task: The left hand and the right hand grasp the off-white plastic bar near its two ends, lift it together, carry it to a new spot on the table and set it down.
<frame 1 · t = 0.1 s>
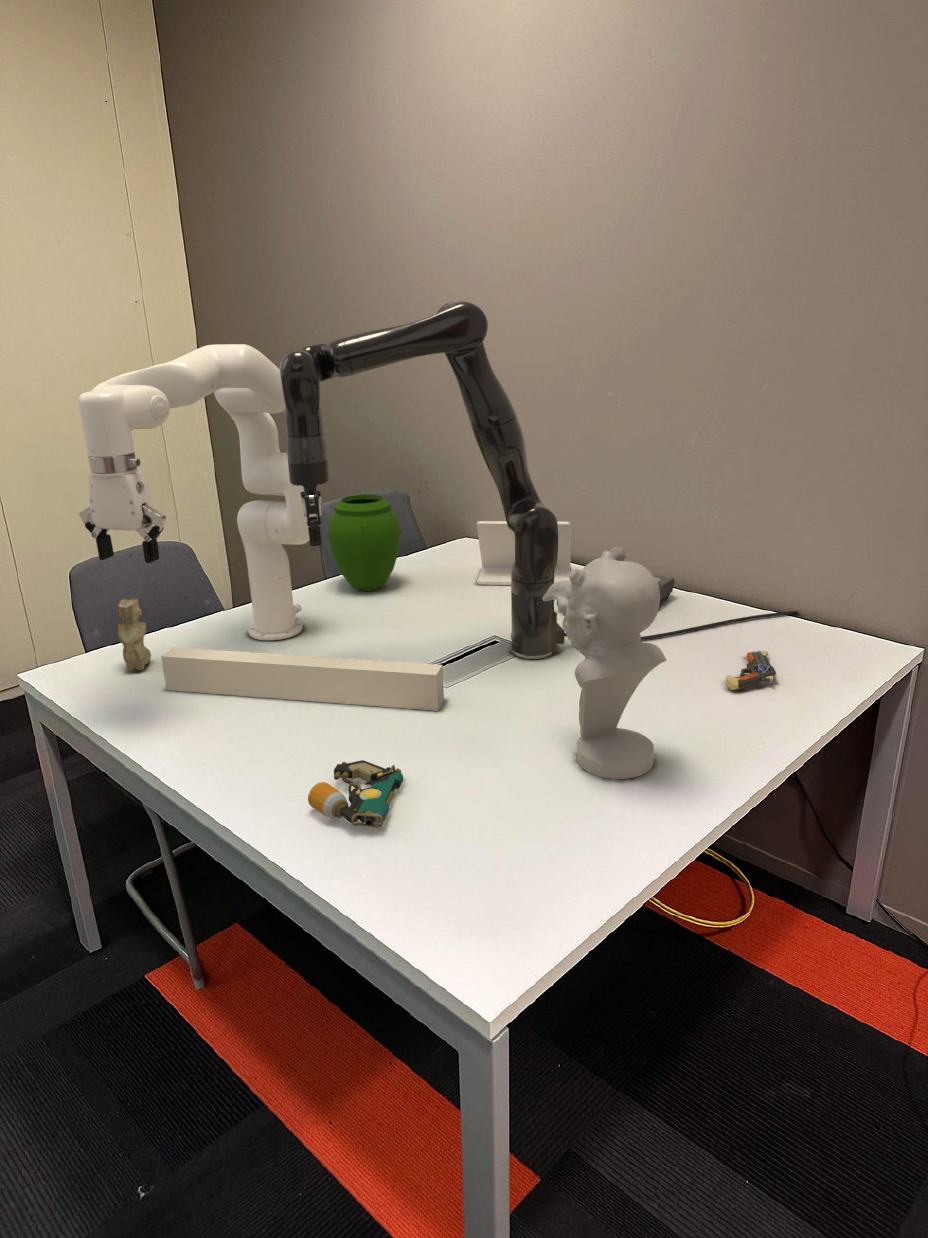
left hand: (129, 559, 153), 31 cm above the table, tool pointing down, fingers open, 9 cm apart
right hand: (315, 539, 170), 29 cm above the table, tool pointing down, fingers open, 8 cm apart
vase: (368, 587, 233), on the table
toy: (615, 605, 214), on the table
spray gun: (362, 801, 134), on the table
tablet stand: (525, 575, 239), on the table
bust sculpture: (594, 754, 145), on the table
sculpture: (138, 667, 186), on the table
bar: (302, 695, 171), on the table
toy gun: (748, 674, 174), on the table
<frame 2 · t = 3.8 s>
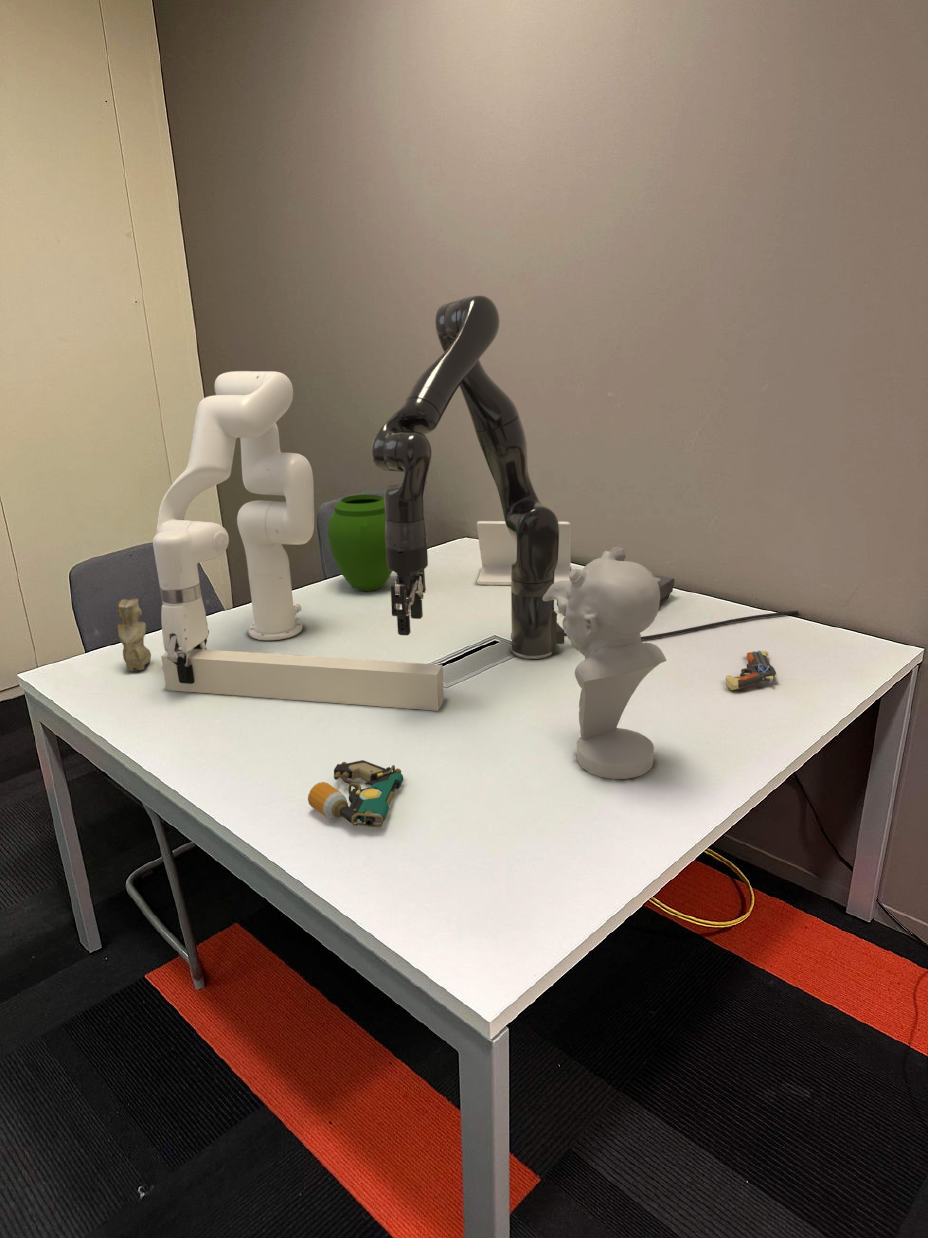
left hand: (193, 676, 175), 2 cm above the table, tool pointing down, fingers closed on bar, 4 cm apart
right hand: (410, 626, 160), 16 cm above the table, tool pointing down, fingers open, 8 cm apart
bar: (302, 695, 171), on the table, touching left hand
everything else where it was.
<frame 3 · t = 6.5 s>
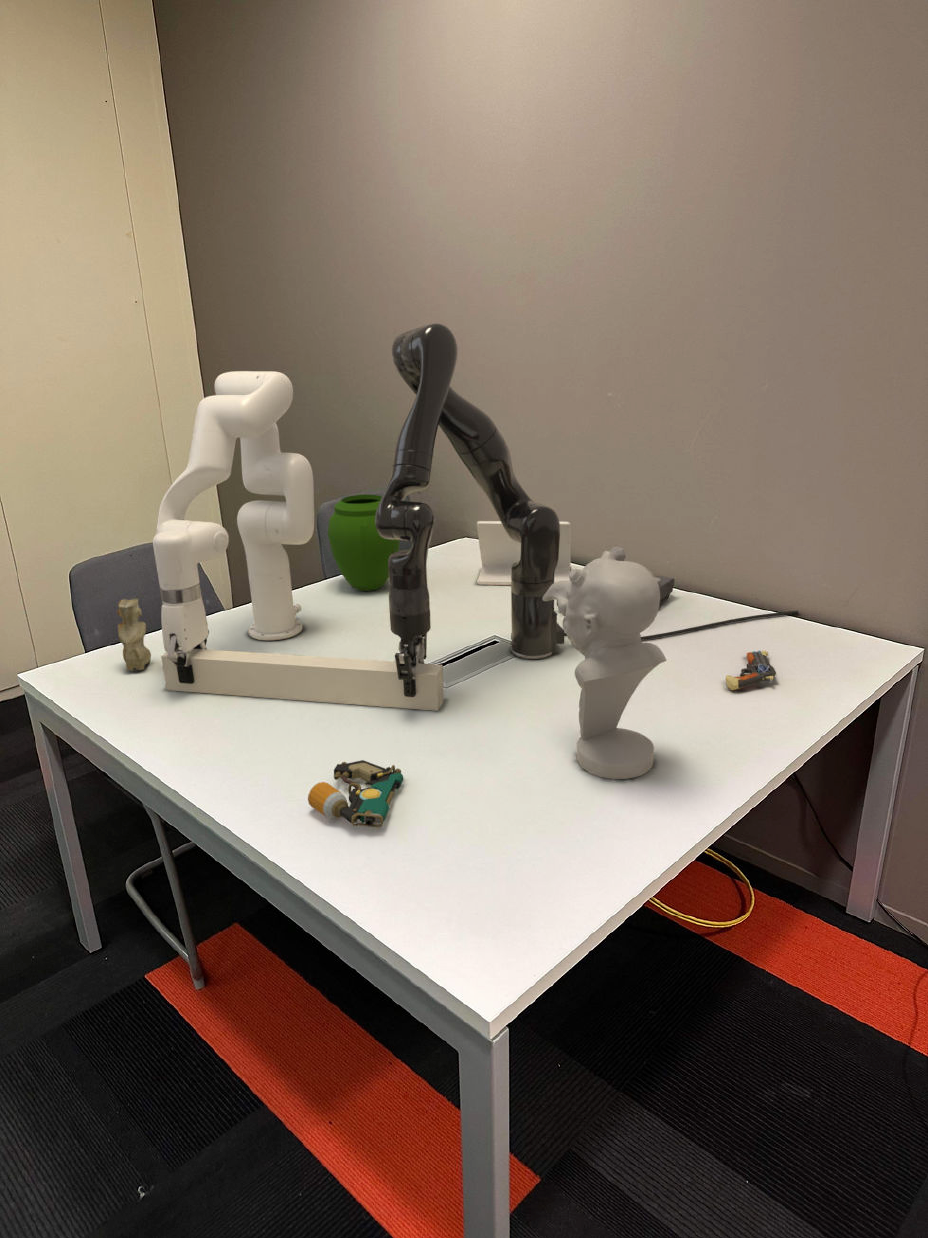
left hand: (193, 676, 175), 2 cm above the table, tool pointing down, fingers closed on bar, 4 cm apart
right hand: (413, 689, 164), 3 cm above the table, tool pointing down, fingers closed on bar, 4 cm apart
bar: (302, 695, 171), on the table, touching right hand, left hand
everything else where it was.
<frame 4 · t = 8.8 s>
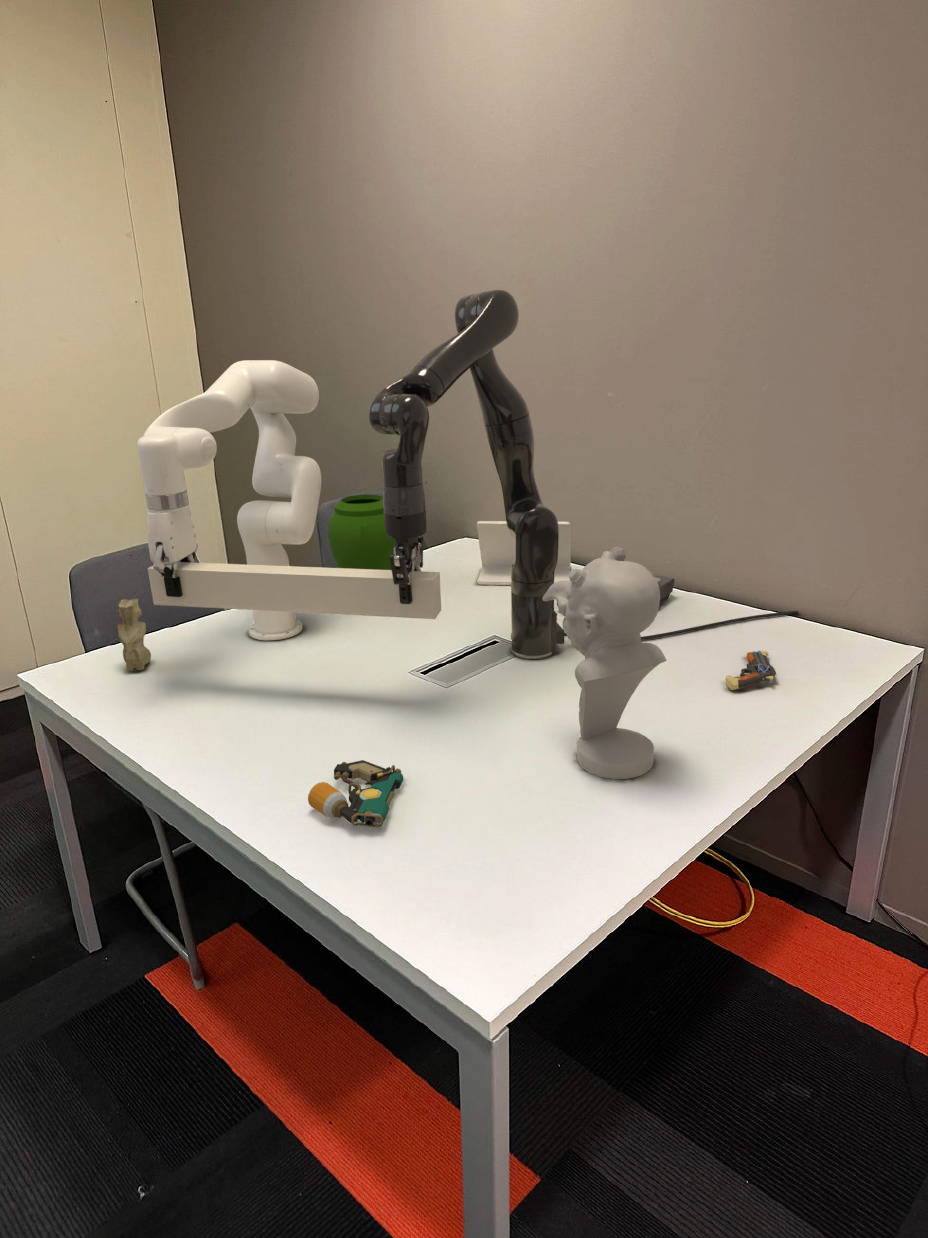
left hand: (181, 590, 168), 21 cm above the table, tool pointing down, fingers closed on bar, 4 cm apart
right hand: (410, 598, 158), 22 cm above the table, tool pointing down, fingers closed on bar, 4 cm apart
bar: (294, 607, 164), point 19 cm above the table, touching right hand, left hand
everything else where it was.
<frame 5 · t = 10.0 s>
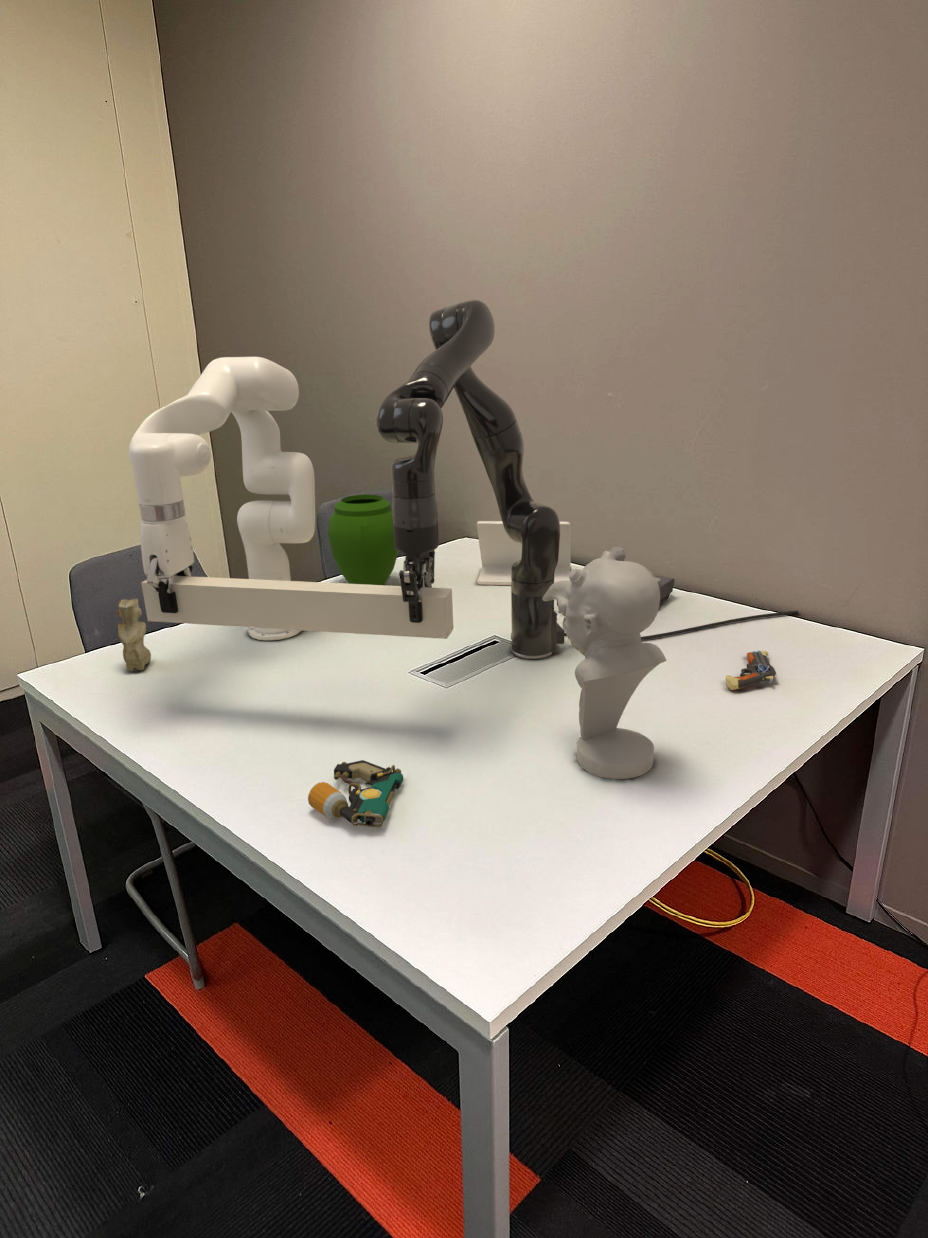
left hand: (177, 606, 159), 21 cm above the table, tool pointing down, fingers closed on bar, 4 cm apart
right hand: (420, 616, 148), 22 cm above the table, tool pointing down, fingers closed on bar, 4 cm apart
bar: (296, 625, 154), point 19 cm above the table, touching right hand, left hand
everything else where it was.
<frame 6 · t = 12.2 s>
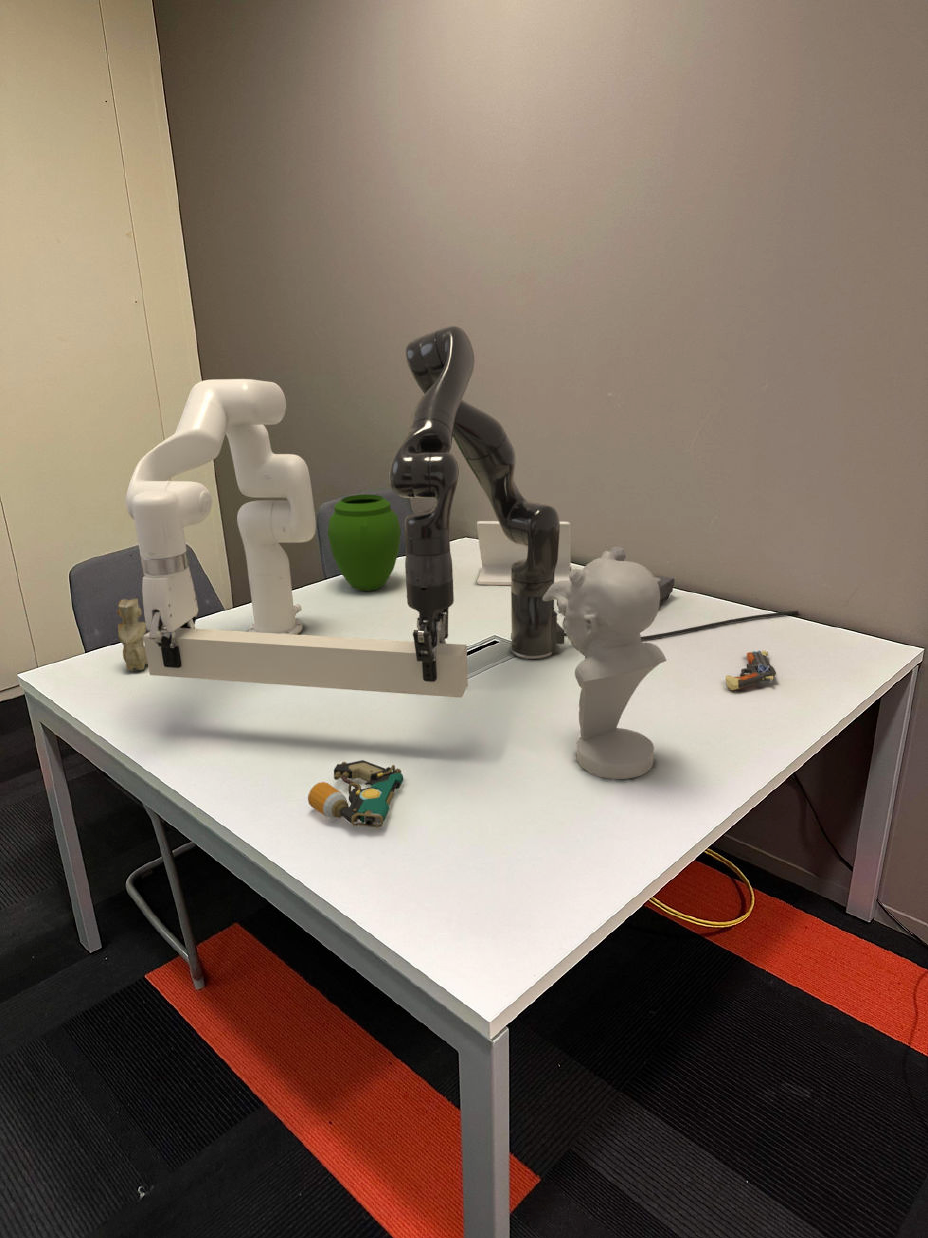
left hand: (180, 659, 153), 14 cm above the table, tool pointing down, fingers closed on bar, 4 cm apart
right hand: (434, 673, 143), 15 cm above the table, tool pointing down, fingers closed on bar, 4 cm apart
bar: (304, 680, 149), point 12 cm above the table, touching right hand, left hand
everything else where it was.
when the left hand's fingers open (3 cm above the table, at t = 13.9 s): bar moves 1 cm, on the table.
when the right hand's fingers open (4 cm above the table, at t = 13.9 s): bar moves 1 cm, on the table.
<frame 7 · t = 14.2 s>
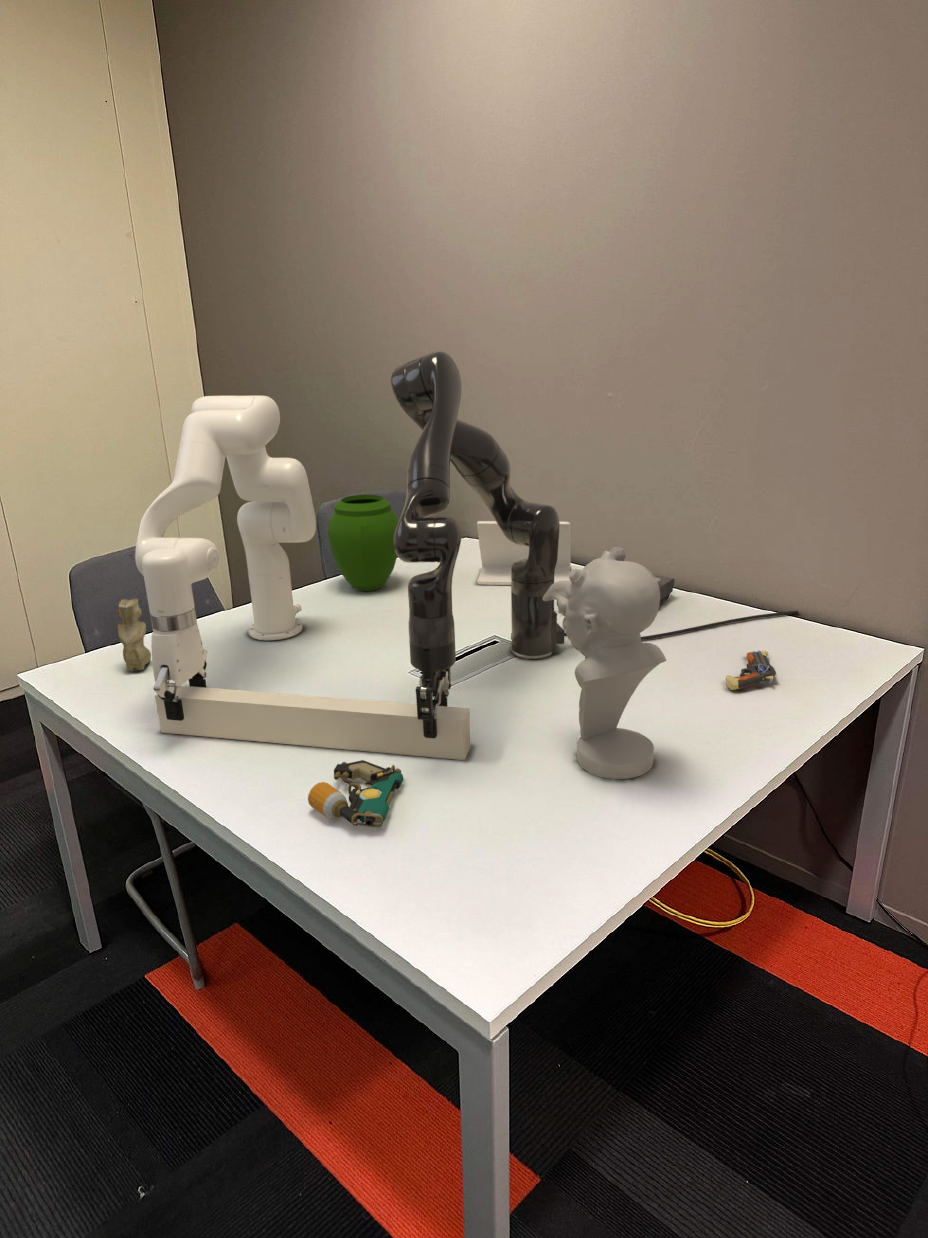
left hand: (188, 708, 156), 5 cm above the table, tool pointing down, fingers open, 8 cm apart
right hand: (436, 726, 146), 5 cm above the table, tool pointing down, fingers open, 7 cm apart
bar: (311, 739, 153), on the table
everything else where it was.
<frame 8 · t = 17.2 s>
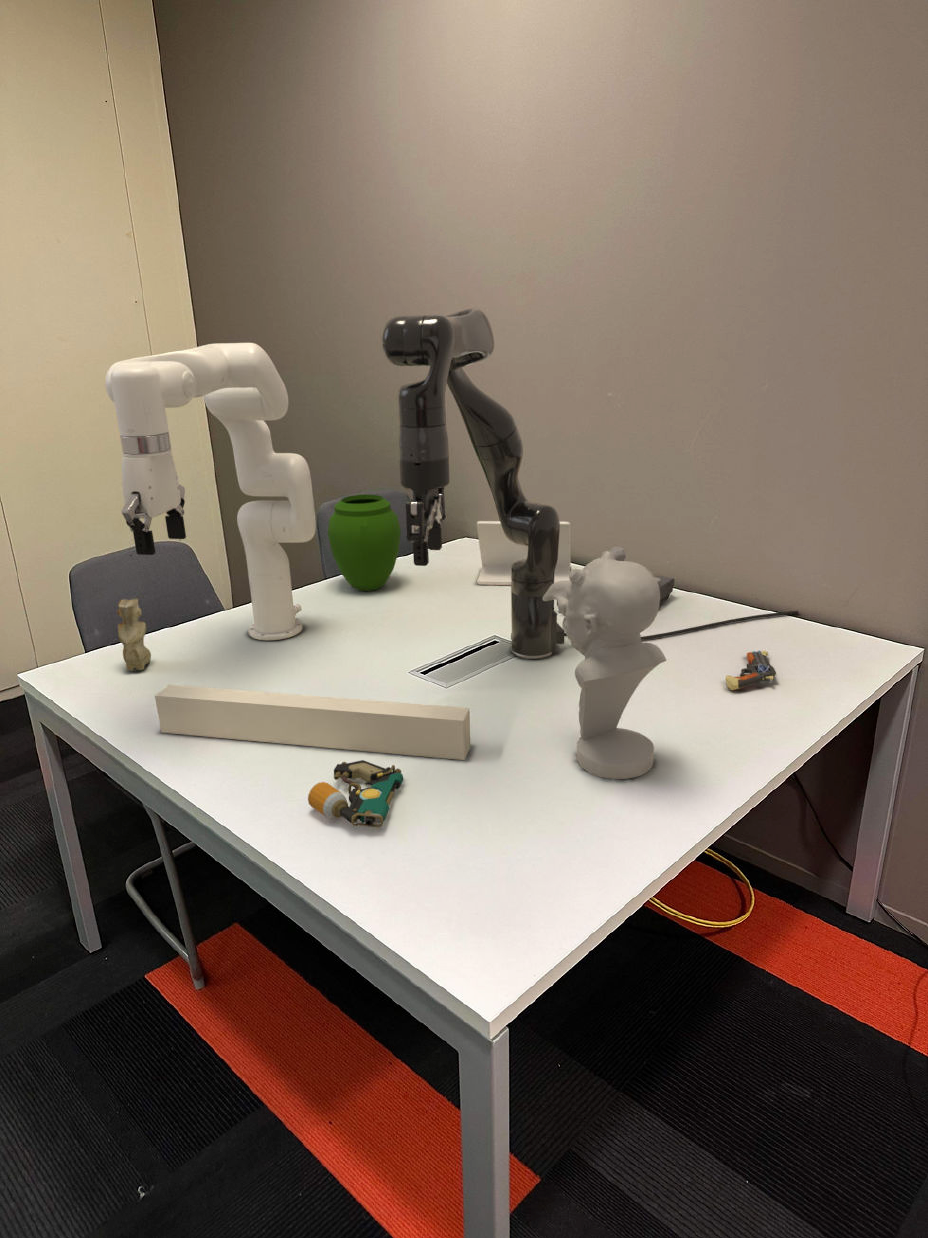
left hand: (162, 546, 145), 35 cm above the table, tool pointing down, fingers open, 9 cm apart
right hand: (428, 557, 135), 35 cm above the table, tool pointing down, fingers open, 8 cm apart
nothing on the table moved.
at the end: bar inside the target area (0.4 cm from its centre), on the table; bar tilted 0°; bar never tilted more than 2° during the clip; both hands held the bar at the same time; the left hand is holding nothing; the right hand is holding nothing; bar at rest at the end (0.0 cm/s) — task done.
